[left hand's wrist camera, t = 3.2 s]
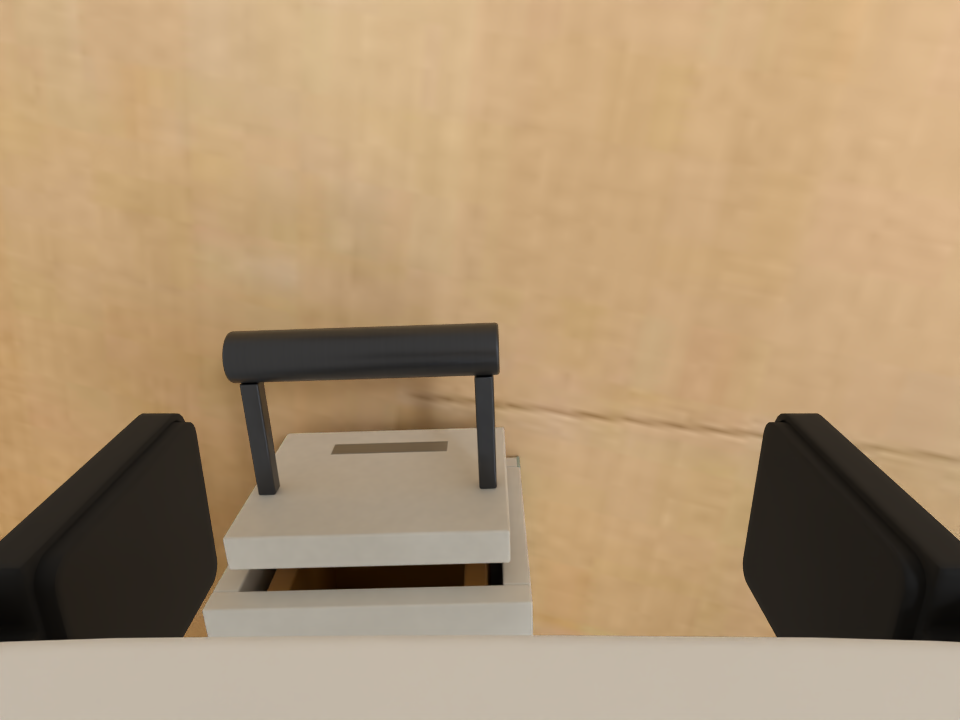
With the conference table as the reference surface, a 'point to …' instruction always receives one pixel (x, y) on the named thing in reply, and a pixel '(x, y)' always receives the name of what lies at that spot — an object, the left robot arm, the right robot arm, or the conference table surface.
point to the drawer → (371, 466)
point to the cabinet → (383, 600)
